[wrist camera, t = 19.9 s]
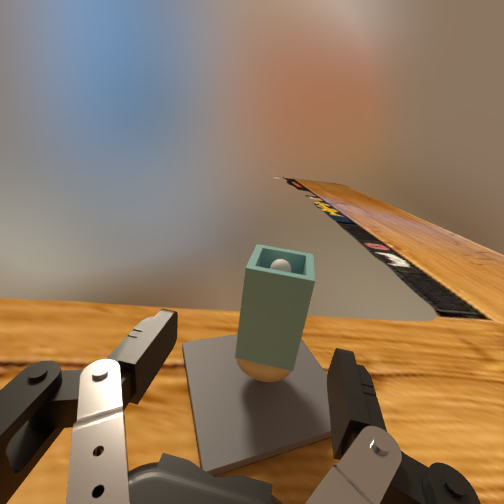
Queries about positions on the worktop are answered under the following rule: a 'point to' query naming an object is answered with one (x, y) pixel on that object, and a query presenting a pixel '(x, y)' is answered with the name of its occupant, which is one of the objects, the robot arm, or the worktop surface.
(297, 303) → the sleeve
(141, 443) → the worktop surface
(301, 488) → the worktop surface
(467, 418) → the worktop surface
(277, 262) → the pipe stand
